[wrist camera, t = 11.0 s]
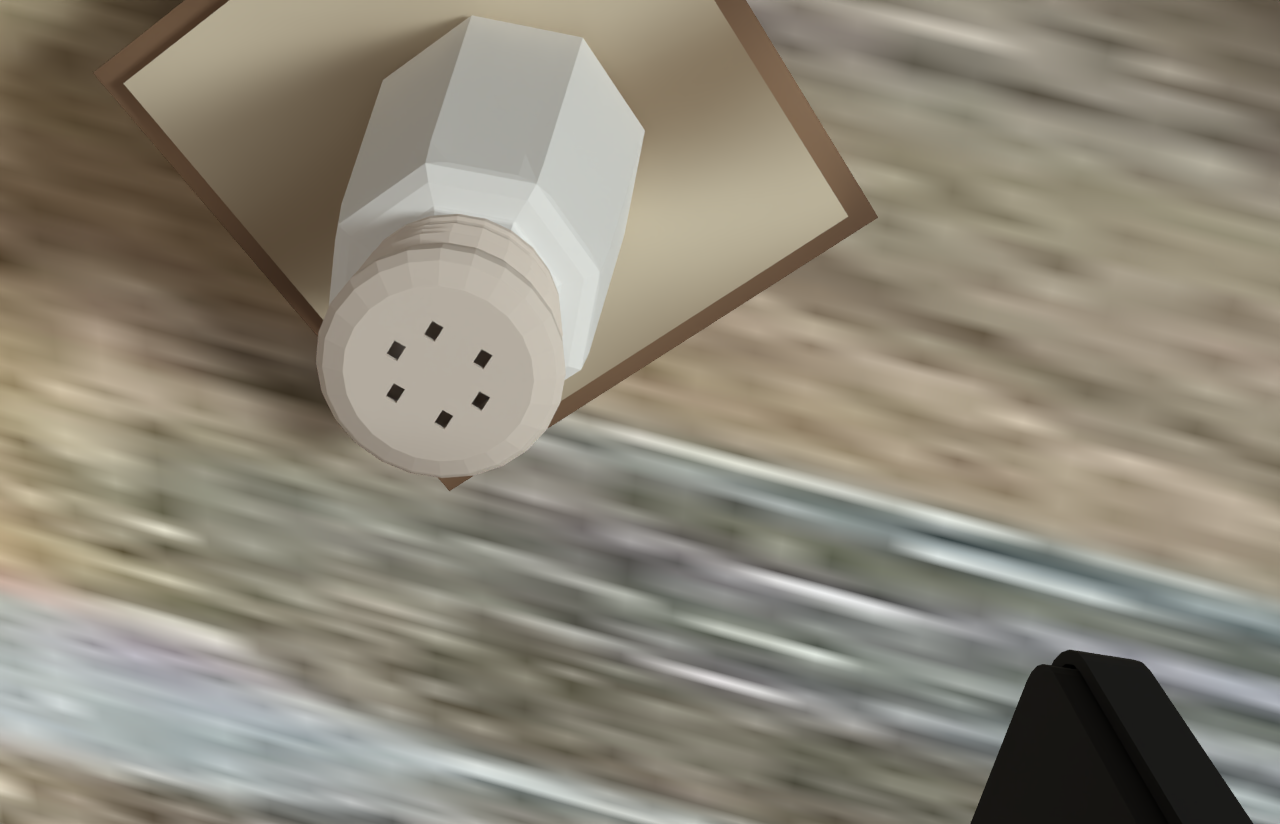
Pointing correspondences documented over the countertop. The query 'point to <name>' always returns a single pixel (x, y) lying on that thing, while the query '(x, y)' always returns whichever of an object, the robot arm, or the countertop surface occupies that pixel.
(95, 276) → the countertop surface
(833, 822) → the countertop surface
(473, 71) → the pepper shaker
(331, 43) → the plinth
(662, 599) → the countertop surface
